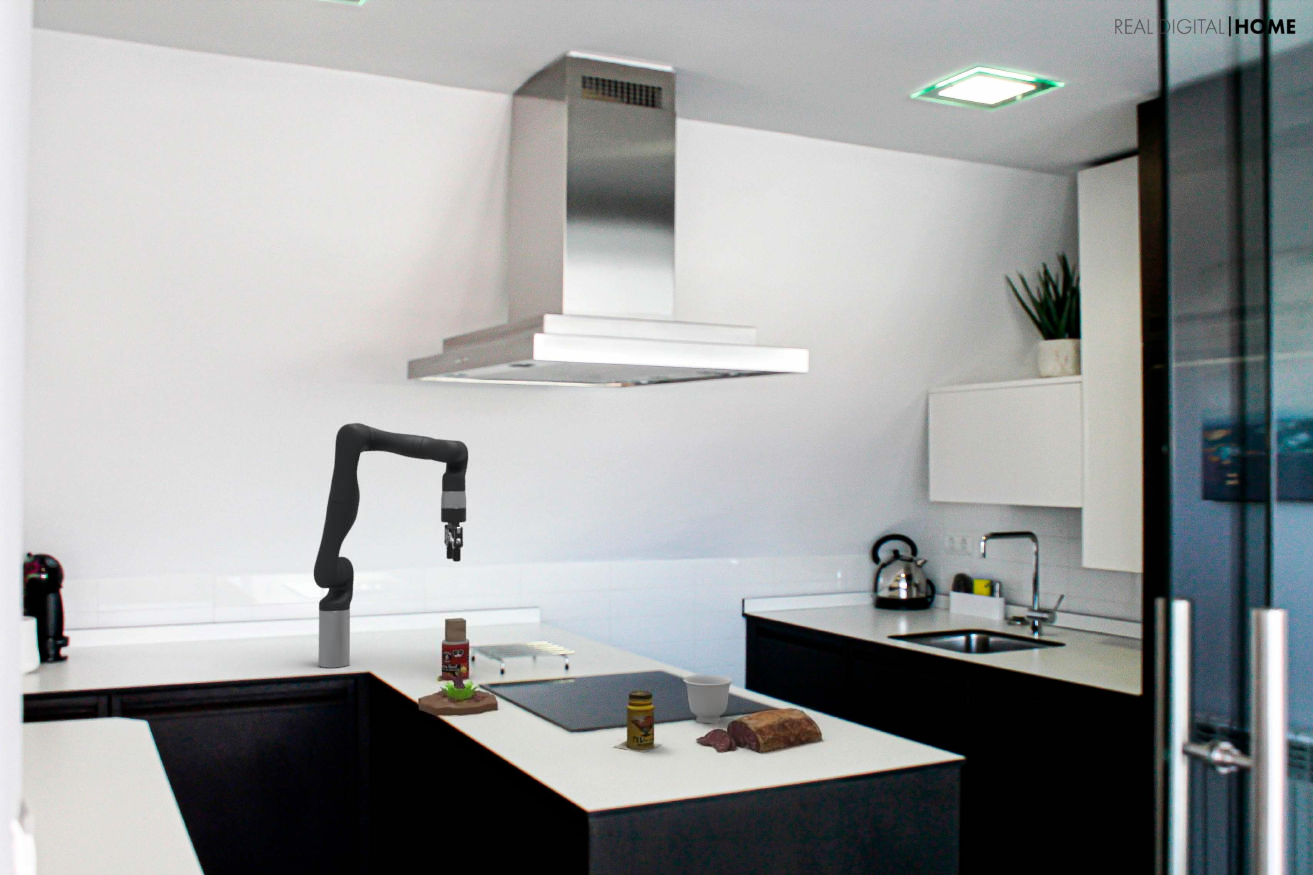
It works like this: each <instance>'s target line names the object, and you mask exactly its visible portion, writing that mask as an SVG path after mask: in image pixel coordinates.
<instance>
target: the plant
mask: <svg viewBox="0 0 1313 875" xmlns="http://www.w3.org/2000/svg"><path fill="white" fill-rule="evenodd" d="M465 672H466V668H465V667H464V666H463V665H462V666H461V667H460V670H459V669H458V668H457V669H456V672H455V673H456V675H458V679H457V680H456V679H454V678H453V677H452V676H451V675H442V674H441V675H439V676H438V677H437V682H442V681H444V679H443V678H444V677H448V678H450V679H451V680H452V682H448V681H446V684H445V683H444V686H445V687H443V686H440V687H439V688H440V689H439V691H438V692H434V693H432V694H429V695H423V696H422V697H418V701H417V705H418V710H419V711H422V712H425V713H426V714H430V715H433V716H439V715H442V716H451V715H459V716H469V715H470V714H471V715H479V714H478V713H480V714H482V713H486V712H487V711H488V712H493V710H494V711H498V709H499V701H498V700H497V697H496V696H495V695H494V694H493V693H492V694H491V693H490V692H488V691H482V690H480V689H479V690H477V689H478V688H479V687H480V685H476V686H475V685H474V682H473V681H472V680H470V681H467V682H466V683H464V680H463V678H462V673H465ZM473 685H474V687H472V686H473ZM471 715H470V716H471Z"/></svg>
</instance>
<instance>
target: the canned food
mask: <svg viewBox="0 0 1313 875" xmlns="http://www.w3.org/2000/svg"><path fill="white" fill-rule="evenodd" d="M462 665H463V666H464V667H465V668H466V672H465V673H462V678H463V679H464V680H467V679H469V676H470V639H468V638H466V641H459V642H448V641H446V640H445V639H443V640H441V675H451V676H452V677H453V678H454V679H456V680H457V679H458V675H456V673H455V672H456V669H457V668H458V669H459V670H460V667H461V666H462ZM449 680H451V679H450V678H448V677H444V678H443V681H449Z"/></svg>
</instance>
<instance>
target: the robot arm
mask: <svg viewBox="0 0 1313 875" xmlns="http://www.w3.org/2000/svg"><path fill="white" fill-rule="evenodd" d="M334 450H335V451H334V462H333V464H334V465H333V472H332V478H331V481H330V483H331V484H330V489H329V493H328V499H327V505H326V510H325V512H326V514H325V520H324V524H323V529H322V530H323V531H322V535H321V540H320V545H319V547H318V550H317V555H316V559H315V562H314V568H313V579H314V582H315V584H316V585H317V587H318V588H320V589H328V592H327V593H326V595H325V596H324V597H322V598H321V599H320V600H319V601H318V602H319V603H318V667H320V666H321V667H320V668H326V667H327V668H342V667H346V666H349V665H350V660H351V657H350V656H351V654H350V651H351V650H350V649H351V648H350V647H351V646H350V642H351V624H350V623H351V619H350V618H351V603H352V601H353V597H354V596H353V595H354V578H355V571H354V566H353V564H352V563H353V562H352V561H351V560H350V559H349V558H348V557H346V556H340V551H341V549H342V545H343V542H344V540H345V539H346V537H347V536H348V534H349V532H350V531H351V529H352V528H353V526H354V525H355V522H356V521H357V517H358V512H359V506H360V501H361V500H360V498H361V495H360V494H361V493H360V486H359V481H358V480H359V479H358V468H359V467H358V466H359V461H360V457H361V453H364V452H365V453H366V452H385V453H391V454H395V455H399V456H401V457H402V456H403V457H406V458H411V459H419V460H426V461H427V460H428V461H429V460H430V461H433V462H439V463H445V464H446V465H445V471H444V473H443V474H442V477H441V495H440V496H441V498H440V522H441V523H447V524H444V542H443V543H444V545H445V547H446V559H447V560H452V562H456V563H457V562H461V557H462V556H461V554H462V553H461V552H462V551H461V550H462V548H463V547H464V530H463V529H464V527H463V526H460V523H465V522H467V495H466V494H467V493H466V475H467V474H466V473H467V470H468V464H469V463H468V462H469V450H468V446H467V445H466V443H464V442H463V441H461V440H453V439H452V440H451V439H441V438H434V437H430V436H425V435H424V436H422V435H418V434H409V433H401V432H399V433H398V432H391V431H385V430H383V429H378V428H375V427H373V426H369V425H365V424H364V423H360V422H357V423H356V422H353V423H347V424H344V425H342V426H341V427H340V428H339V429H338V431H337V433H336V437H335V446H334ZM327 668H326V669H327Z"/></svg>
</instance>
